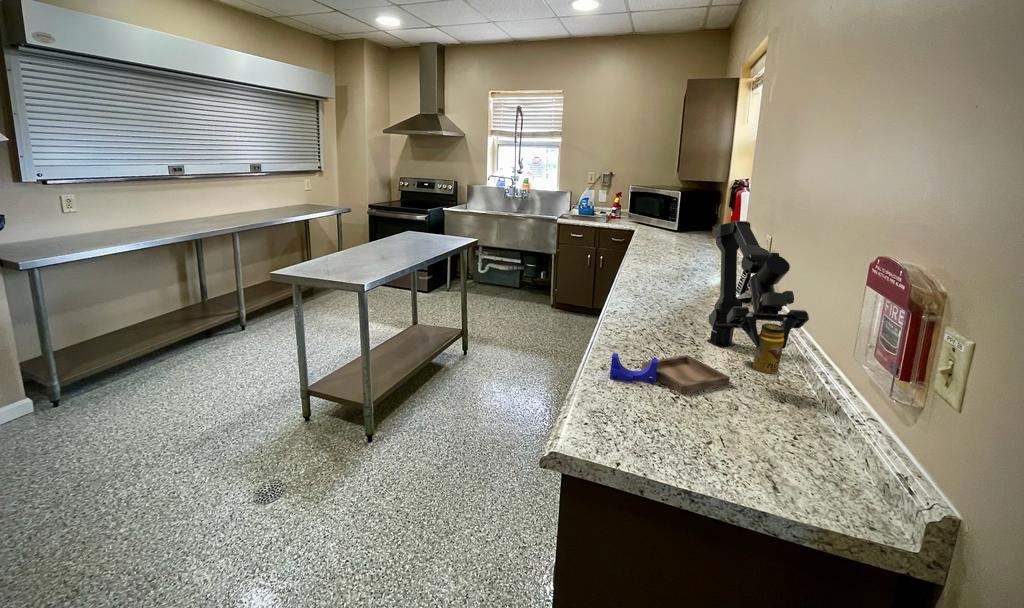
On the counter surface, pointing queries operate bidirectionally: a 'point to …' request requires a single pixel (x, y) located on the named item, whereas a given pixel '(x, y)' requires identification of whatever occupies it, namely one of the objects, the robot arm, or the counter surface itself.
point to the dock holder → (687, 374)
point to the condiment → (767, 351)
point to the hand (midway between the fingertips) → (770, 347)
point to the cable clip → (627, 375)
